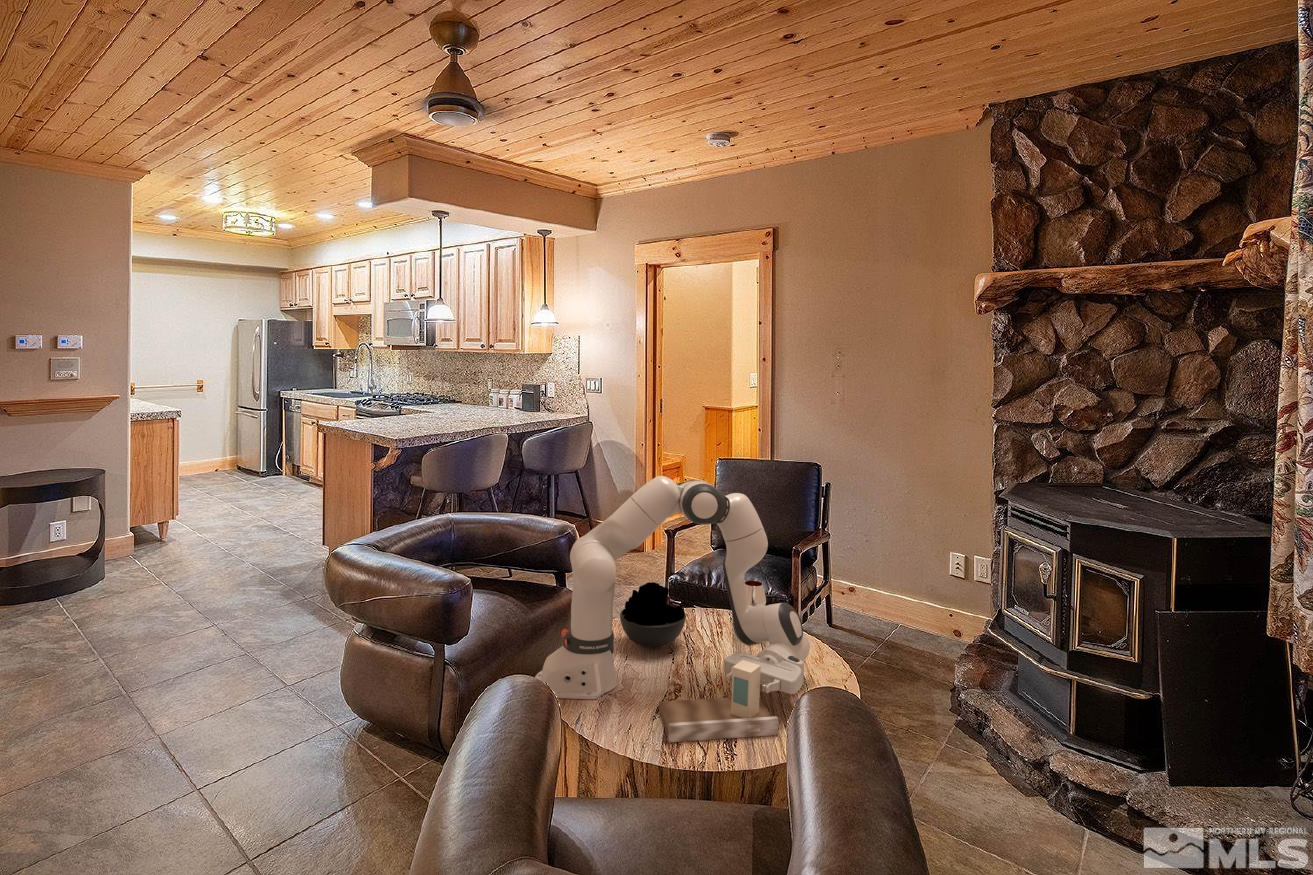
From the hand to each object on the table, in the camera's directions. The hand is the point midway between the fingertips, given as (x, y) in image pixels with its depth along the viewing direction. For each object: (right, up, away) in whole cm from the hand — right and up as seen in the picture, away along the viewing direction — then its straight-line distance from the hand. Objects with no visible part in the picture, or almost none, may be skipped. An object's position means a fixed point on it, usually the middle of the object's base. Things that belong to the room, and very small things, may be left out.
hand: (747, 683), depth 171 cm
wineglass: (+8, -4, +50) cm, 51 cm away
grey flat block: (-8, -9, 0) cm, 12 cm away
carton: (-1, -7, 0) cm, 7 cm away
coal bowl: (-24, -4, +43) cm, 49 cm away
